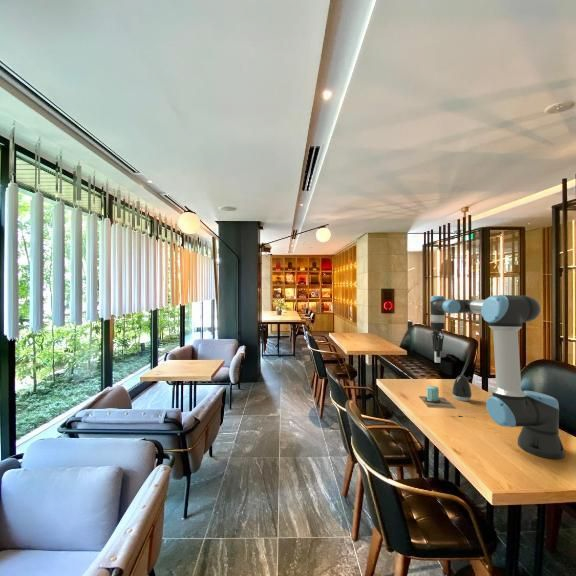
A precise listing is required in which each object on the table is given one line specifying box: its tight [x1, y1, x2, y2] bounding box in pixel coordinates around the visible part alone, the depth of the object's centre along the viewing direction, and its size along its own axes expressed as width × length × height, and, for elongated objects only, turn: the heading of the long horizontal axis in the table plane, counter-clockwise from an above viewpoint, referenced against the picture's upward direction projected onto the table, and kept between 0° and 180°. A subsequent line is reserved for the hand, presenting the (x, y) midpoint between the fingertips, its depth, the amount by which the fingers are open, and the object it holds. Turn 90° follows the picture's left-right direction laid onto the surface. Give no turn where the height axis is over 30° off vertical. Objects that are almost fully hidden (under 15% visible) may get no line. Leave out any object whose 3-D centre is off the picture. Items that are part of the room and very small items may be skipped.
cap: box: [426, 385, 440, 401], centre depth 181 cm, size 6×6×7 cm
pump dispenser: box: [451, 374, 473, 402], centre depth 185 cm, size 10×10×15 cm
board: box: [418, 395, 457, 410], centre depth 179 cm, size 18×15×1 cm
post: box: [425, 396, 440, 403], centre depth 181 cm, size 8×8×6 cm
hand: (437, 362), depth 179 cm, fingers closed
